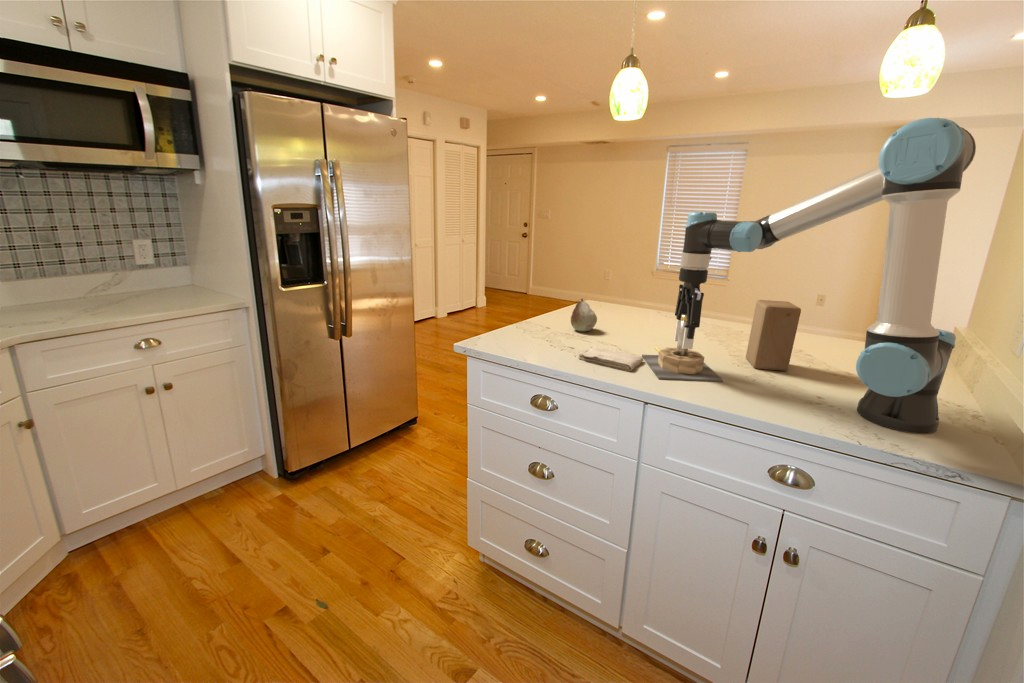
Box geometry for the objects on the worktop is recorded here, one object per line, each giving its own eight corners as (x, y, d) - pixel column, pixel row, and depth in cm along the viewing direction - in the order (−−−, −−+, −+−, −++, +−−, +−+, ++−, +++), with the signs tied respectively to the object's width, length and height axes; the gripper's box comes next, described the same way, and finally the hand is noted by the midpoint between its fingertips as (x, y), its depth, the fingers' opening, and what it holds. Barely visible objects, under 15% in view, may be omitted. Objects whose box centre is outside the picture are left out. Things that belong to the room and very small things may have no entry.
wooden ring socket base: (722, 381, 130) (725, 366, 128) (658, 379, 130) (660, 364, 129) (697, 358, 149) (699, 345, 148) (641, 356, 149) (643, 342, 148)
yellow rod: (663, 356, 150) (664, 353, 150) (661, 356, 150) (661, 353, 150) (656, 348, 158) (657, 345, 158) (654, 348, 158) (654, 345, 158)
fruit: (582, 325, 184) (585, 296, 180) (601, 331, 177) (604, 300, 173) (565, 329, 177) (567, 299, 174) (583, 335, 171) (586, 303, 167)
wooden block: (788, 372, 139) (803, 308, 133) (753, 369, 141) (766, 305, 135) (777, 361, 148) (790, 301, 143) (744, 358, 150) (755, 298, 144)
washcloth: (591, 351, 154) (592, 342, 153) (644, 363, 145) (645, 353, 144) (576, 361, 144) (576, 351, 144) (631, 373, 135) (632, 364, 134)
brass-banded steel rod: (687, 368, 138) (695, 316, 133) (675, 368, 138) (683, 316, 133) (683, 364, 141) (691, 314, 136) (672, 364, 141) (679, 313, 136)
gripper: (721, 273, 121) (707, 356, 128) (695, 263, 140) (684, 335, 147) (693, 272, 121) (680, 354, 128) (670, 262, 140) (661, 334, 147)
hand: (682, 344), depth 137 cm, fingers open, 7 cm apart
